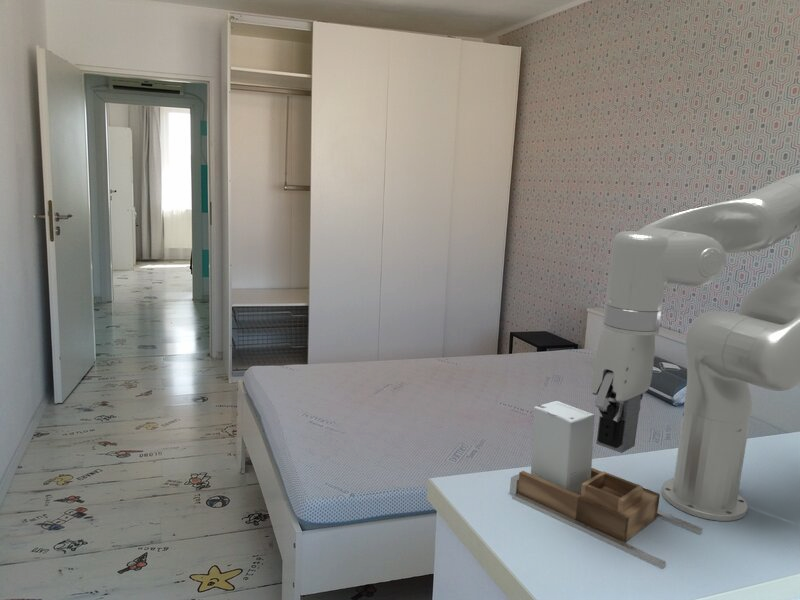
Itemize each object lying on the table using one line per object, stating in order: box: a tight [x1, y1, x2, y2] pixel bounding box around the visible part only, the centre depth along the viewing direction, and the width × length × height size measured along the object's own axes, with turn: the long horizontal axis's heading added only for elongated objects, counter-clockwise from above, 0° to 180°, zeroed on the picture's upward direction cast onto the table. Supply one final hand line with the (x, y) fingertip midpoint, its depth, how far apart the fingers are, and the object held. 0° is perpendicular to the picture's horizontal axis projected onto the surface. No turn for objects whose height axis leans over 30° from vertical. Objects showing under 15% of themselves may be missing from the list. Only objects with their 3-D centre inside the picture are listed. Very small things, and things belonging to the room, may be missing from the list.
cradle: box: [518, 467, 661, 543], centre depth 100 cm, size 11×18×6 cm, turn 44°
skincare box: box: [530, 400, 596, 495], centre depth 103 cm, size 8×6×15 cm
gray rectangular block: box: [595, 393, 642, 454], centre depth 93 cm, size 4×4×8 cm
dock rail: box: [509, 473, 704, 570], centre depth 98 cm, size 14×26×3 cm, turn 44°
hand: (616, 439), depth 93 cm, fingers closed on gray rectangular block, 4 cm apart
